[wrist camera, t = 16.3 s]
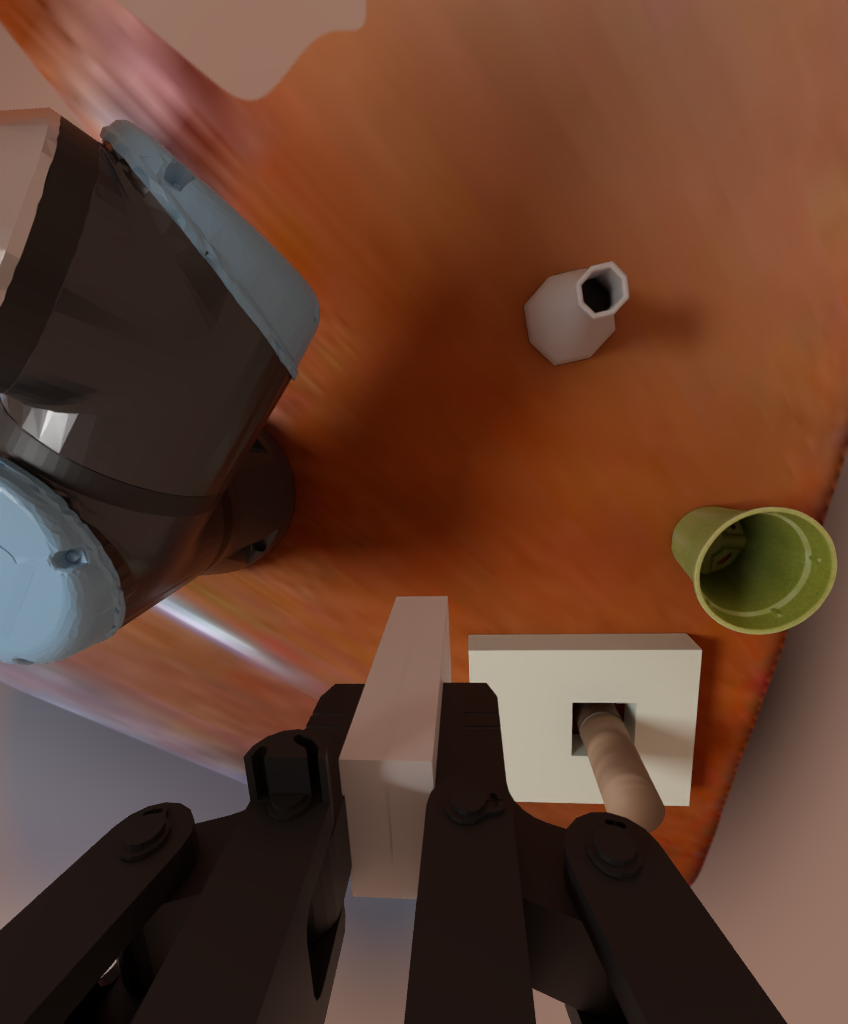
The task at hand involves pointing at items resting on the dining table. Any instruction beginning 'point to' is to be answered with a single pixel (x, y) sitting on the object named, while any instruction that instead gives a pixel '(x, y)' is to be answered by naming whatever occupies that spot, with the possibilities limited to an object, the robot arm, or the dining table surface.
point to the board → (590, 679)
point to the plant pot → (756, 565)
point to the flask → (575, 312)
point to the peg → (618, 765)
